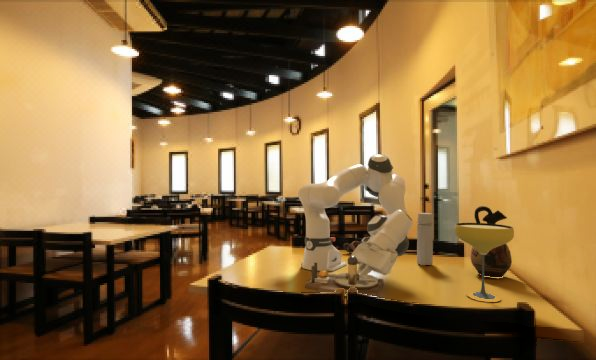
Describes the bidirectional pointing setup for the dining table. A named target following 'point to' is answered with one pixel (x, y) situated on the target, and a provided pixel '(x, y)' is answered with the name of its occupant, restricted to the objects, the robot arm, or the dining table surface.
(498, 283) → the dining table surface
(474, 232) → the cocktail glass
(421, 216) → the water bottle
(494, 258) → the ceramic jug
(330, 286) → the stand
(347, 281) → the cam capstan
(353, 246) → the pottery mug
